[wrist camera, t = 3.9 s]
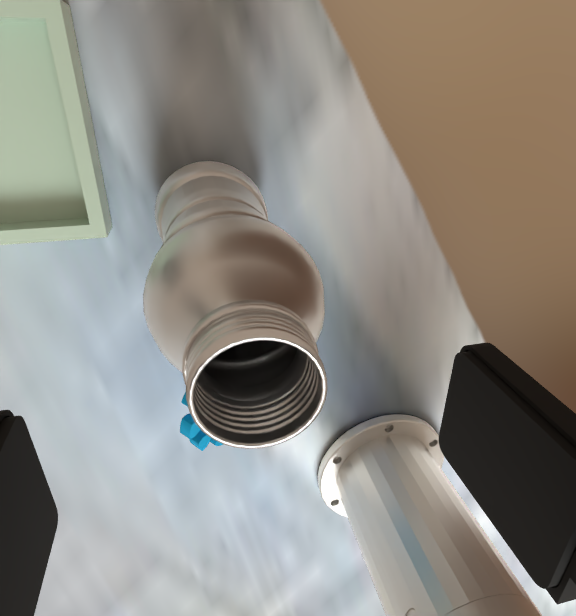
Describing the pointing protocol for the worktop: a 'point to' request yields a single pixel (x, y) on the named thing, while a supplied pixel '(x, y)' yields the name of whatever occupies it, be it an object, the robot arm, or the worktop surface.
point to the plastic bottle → (235, 309)
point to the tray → (46, 130)
